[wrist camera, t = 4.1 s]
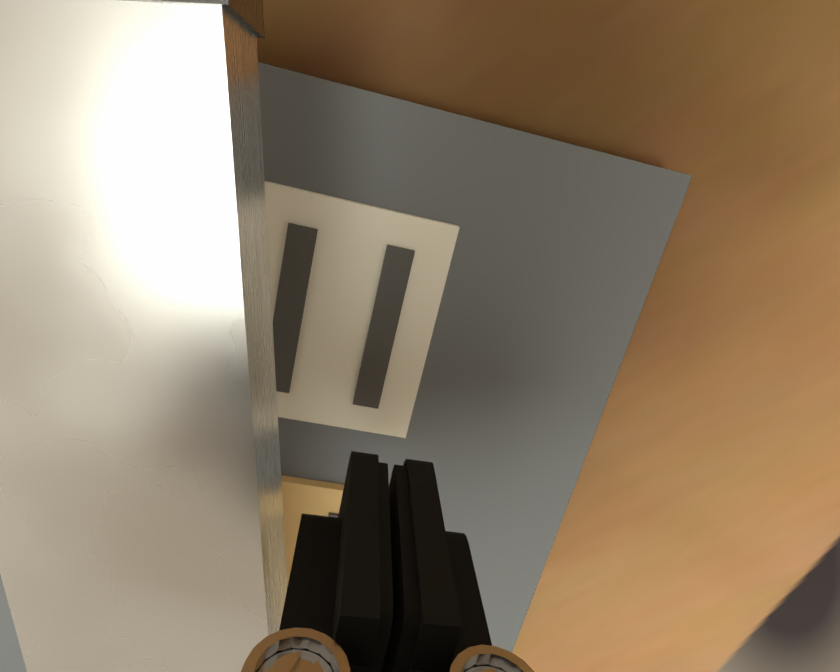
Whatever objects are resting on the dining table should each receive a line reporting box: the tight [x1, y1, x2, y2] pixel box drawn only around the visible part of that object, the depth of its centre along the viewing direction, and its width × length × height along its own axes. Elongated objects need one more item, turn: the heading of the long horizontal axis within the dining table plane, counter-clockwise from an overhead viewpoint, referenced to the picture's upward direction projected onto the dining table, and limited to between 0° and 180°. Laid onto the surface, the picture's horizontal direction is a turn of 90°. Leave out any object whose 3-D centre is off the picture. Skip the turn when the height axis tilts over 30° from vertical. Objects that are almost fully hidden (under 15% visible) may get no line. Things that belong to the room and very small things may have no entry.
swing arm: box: [0, 0, 287, 672], centre depth 10 cm, size 23×4×2 cm, turn 178°
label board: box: [0, 62, 692, 672], centre depth 15 cm, size 22×20×6 cm
